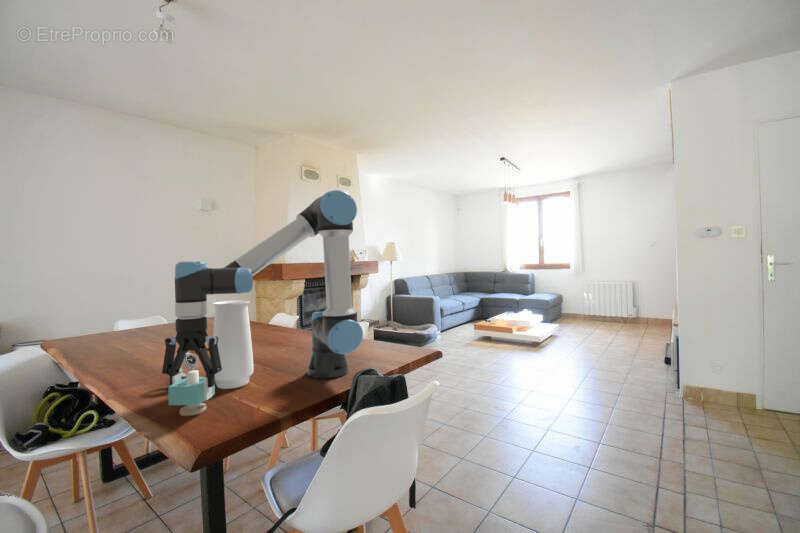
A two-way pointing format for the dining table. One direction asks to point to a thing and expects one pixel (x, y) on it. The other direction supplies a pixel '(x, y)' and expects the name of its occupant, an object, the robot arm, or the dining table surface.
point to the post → (191, 410)
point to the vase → (233, 343)
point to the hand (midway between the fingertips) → (192, 398)
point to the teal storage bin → (187, 393)
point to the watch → (189, 363)
